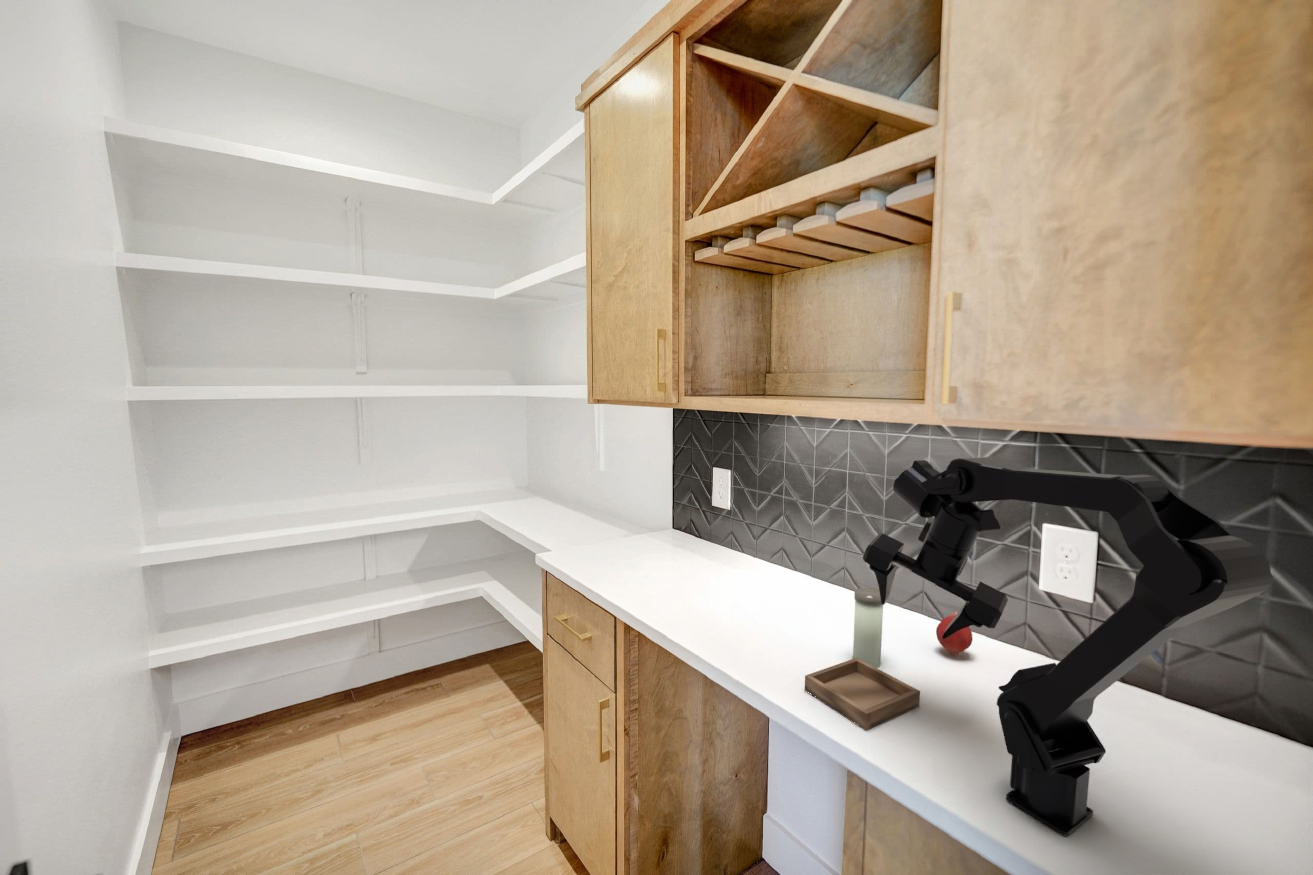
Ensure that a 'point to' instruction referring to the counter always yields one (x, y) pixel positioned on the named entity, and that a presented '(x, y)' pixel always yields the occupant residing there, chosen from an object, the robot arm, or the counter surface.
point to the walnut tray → (862, 692)
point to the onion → (954, 637)
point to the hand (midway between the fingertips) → (912, 619)
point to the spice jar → (868, 626)
